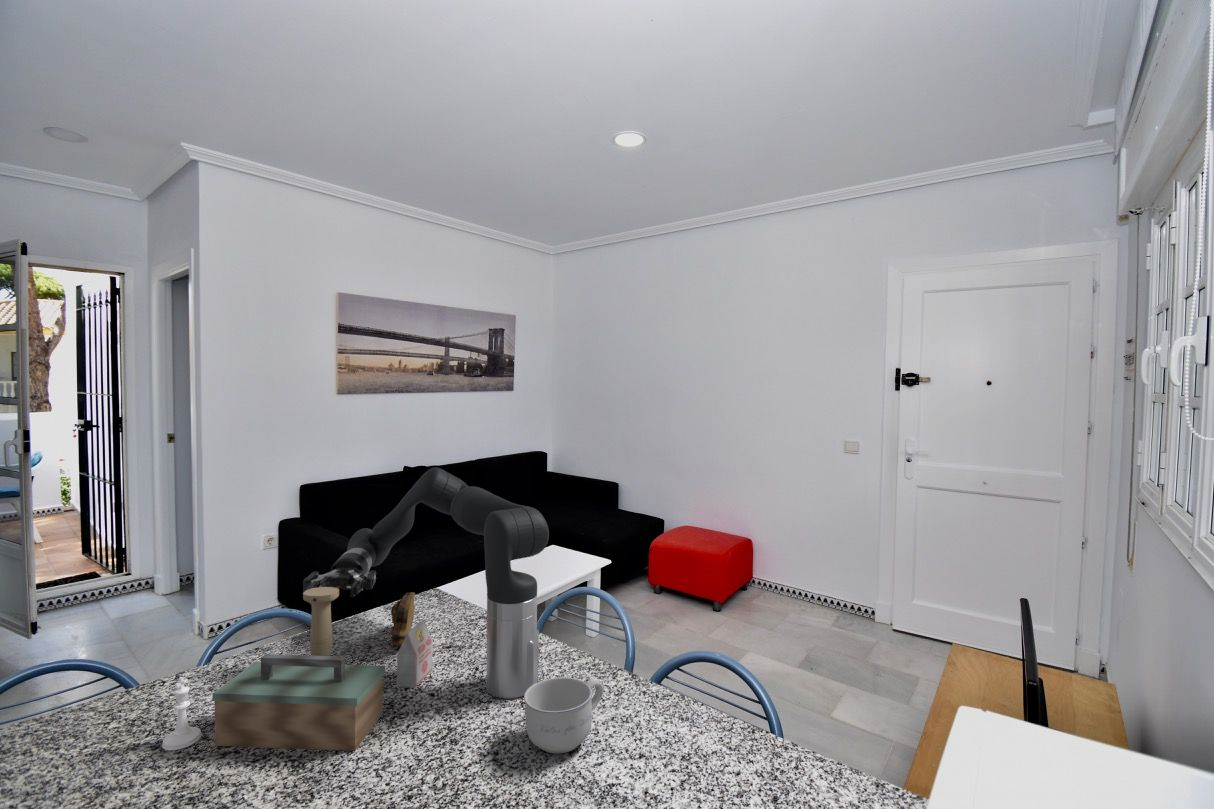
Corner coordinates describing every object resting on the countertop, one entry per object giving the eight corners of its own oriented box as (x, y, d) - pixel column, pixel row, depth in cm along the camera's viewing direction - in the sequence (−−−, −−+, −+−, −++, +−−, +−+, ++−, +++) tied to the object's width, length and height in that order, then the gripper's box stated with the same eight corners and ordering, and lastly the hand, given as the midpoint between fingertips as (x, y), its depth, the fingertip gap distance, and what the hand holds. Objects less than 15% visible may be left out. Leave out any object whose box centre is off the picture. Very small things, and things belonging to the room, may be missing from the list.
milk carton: (397, 685, 106) (397, 632, 105) (414, 668, 112) (415, 618, 112) (415, 687, 105) (415, 634, 105) (432, 669, 112) (432, 619, 111)
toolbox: (403, 688, 105) (403, 625, 104) (357, 750, 87) (357, 675, 86) (283, 684, 105) (283, 621, 105) (213, 745, 87) (212, 670, 87)
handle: (331, 672, 110) (331, 596, 109) (298, 671, 110) (298, 595, 109) (343, 660, 115) (343, 587, 114) (311, 659, 115) (311, 586, 114)
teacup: (537, 772, 83) (538, 718, 82) (514, 731, 92) (514, 683, 92) (621, 745, 89) (622, 695, 89) (591, 709, 99) (591, 664, 98)
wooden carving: (395, 626, 131) (395, 584, 131) (415, 624, 132) (415, 582, 132) (387, 660, 115) (387, 611, 115) (411, 657, 117) (411, 609, 116)
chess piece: (209, 734, 90) (208, 672, 90) (176, 753, 85) (175, 688, 85) (187, 728, 92) (186, 667, 91) (154, 746, 87) (153, 682, 87)
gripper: (320, 552, 135) (294, 576, 119) (383, 551, 137) (366, 574, 121) (320, 583, 135) (294, 611, 119) (383, 582, 138) (365, 609, 122)
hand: (330, 593), depth 120 cm, fingers open, 8 cm apart
